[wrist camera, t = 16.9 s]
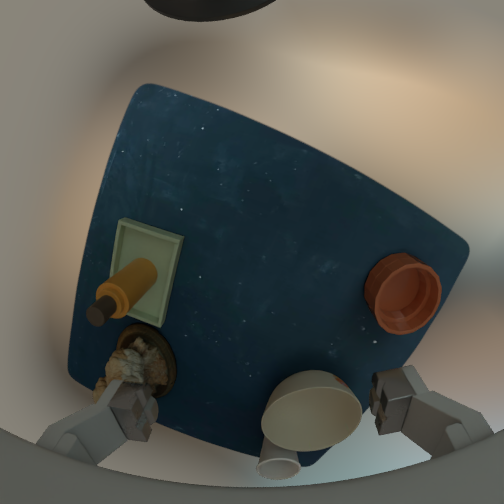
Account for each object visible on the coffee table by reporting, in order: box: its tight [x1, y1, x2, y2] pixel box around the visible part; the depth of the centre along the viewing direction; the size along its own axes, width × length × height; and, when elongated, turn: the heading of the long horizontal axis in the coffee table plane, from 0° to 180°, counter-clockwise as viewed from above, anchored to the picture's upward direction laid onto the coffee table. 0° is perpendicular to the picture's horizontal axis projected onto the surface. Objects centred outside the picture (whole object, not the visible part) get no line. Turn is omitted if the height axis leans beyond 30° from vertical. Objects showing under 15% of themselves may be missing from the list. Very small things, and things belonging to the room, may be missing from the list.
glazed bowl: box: [364, 253, 442, 335], centre depth 42 cm, size 11×11×6 cm
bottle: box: [86, 258, 157, 326], centre depth 38 cm, size 5×5×16 cm
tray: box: [110, 218, 184, 328], centre depth 45 cm, size 15×10×2 cm
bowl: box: [261, 370, 362, 451], centre depth 46 cm, size 16×16×10 cm
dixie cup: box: [256, 436, 301, 480], centre depth 50 cm, size 8×8×10 cm
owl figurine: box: [93, 323, 177, 404], centre depth 43 cm, size 18×12×17 cm, turn 178°
